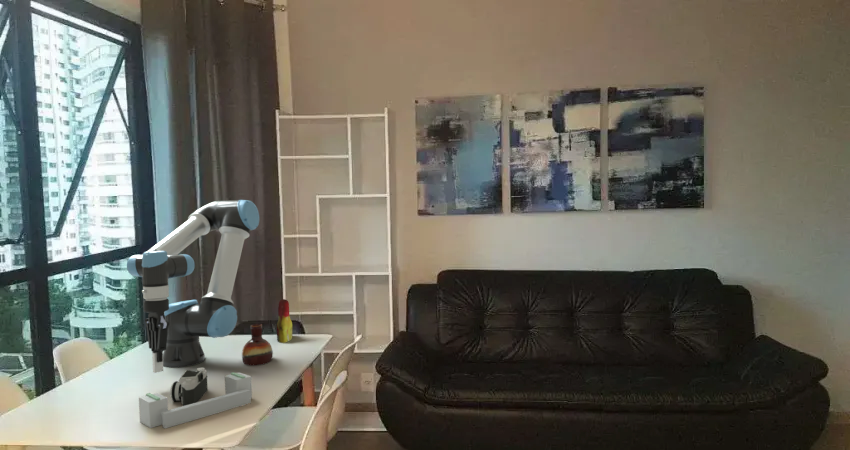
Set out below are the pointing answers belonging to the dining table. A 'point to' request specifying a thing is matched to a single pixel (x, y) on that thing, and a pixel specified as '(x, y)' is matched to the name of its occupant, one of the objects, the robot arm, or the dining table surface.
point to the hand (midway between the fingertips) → (158, 371)
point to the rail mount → (195, 404)
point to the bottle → (284, 322)
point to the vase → (257, 348)
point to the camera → (190, 387)
